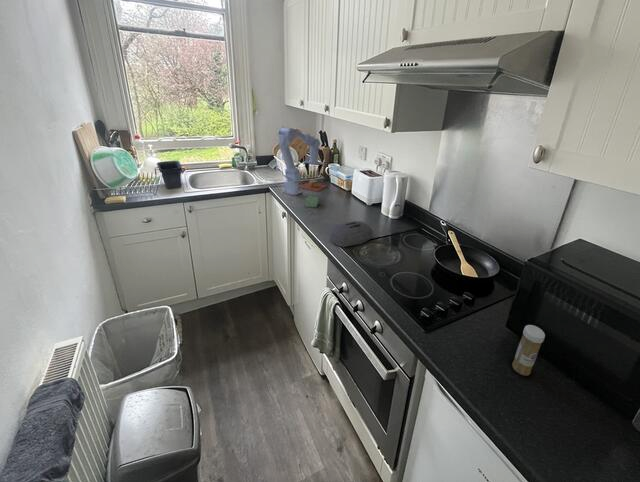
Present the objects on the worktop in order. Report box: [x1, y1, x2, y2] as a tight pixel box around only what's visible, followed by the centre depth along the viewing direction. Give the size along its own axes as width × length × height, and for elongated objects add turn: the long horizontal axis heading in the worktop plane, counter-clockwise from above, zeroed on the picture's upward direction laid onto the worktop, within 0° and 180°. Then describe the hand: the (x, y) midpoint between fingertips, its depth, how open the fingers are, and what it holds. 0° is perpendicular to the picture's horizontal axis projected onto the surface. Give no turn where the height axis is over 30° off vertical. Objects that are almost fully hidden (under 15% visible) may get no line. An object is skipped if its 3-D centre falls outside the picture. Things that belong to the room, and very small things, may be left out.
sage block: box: [304, 195, 319, 208], centre depth 182 cm, size 7×7×4 cm
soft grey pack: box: [330, 220, 373, 248], centre depth 142 cm, size 15×8×20 cm
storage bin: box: [154, 160, 183, 190], centre depth 200 cm, size 21×16×14 cm
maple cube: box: [309, 179, 318, 187], centre depth 214 cm, size 4×4×4 cm
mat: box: [299, 181, 328, 193], centre depth 215 cm, size 16×14×1 cm
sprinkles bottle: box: [511, 324, 546, 376], centre depth 78 cm, size 5×5×13 cm
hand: (313, 174), depth 211 cm, fingers open, 7 cm apart
